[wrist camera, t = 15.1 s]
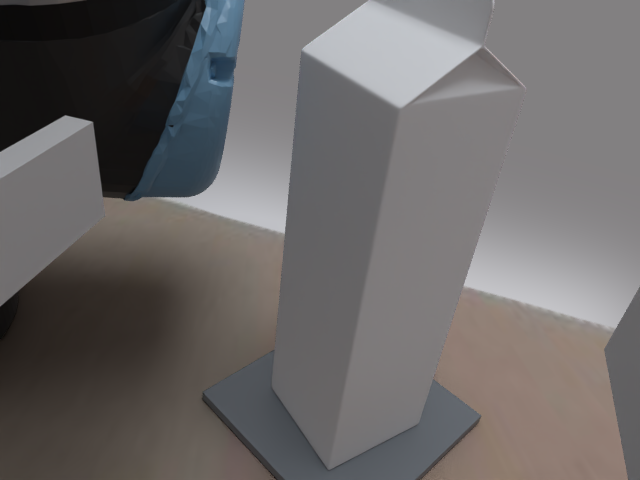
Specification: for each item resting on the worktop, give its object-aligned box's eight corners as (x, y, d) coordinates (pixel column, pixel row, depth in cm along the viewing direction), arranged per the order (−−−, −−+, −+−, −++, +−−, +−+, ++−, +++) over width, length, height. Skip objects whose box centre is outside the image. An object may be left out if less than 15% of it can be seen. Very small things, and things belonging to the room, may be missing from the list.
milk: (355, 353, 35) (438, -43, 22) (420, 426, 31) (563, -7, 18) (267, 388, 32) (307, -48, 19) (326, 475, 28) (424, -6, 15)
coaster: (202, 398, 31) (202, 391, 31) (340, 316, 38) (341, 310, 38) (344, 553, 25) (346, 545, 25) (478, 422, 32) (481, 415, 32)
